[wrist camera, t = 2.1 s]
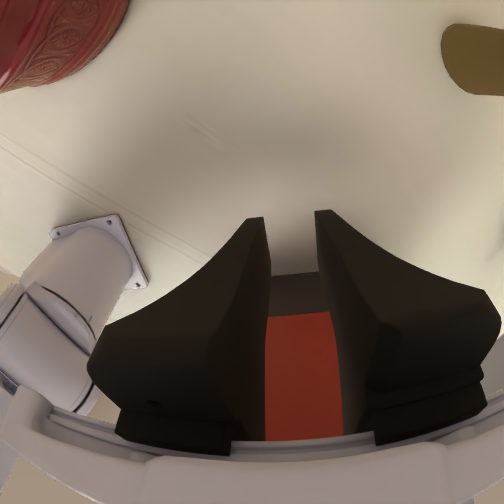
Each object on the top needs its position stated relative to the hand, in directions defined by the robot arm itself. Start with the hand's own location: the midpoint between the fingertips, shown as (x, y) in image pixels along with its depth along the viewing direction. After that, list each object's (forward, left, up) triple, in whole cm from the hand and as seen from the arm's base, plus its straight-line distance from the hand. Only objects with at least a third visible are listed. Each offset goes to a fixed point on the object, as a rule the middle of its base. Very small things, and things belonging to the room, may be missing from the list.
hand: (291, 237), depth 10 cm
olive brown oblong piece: (+16, +8, -11) cm, 21 cm away
